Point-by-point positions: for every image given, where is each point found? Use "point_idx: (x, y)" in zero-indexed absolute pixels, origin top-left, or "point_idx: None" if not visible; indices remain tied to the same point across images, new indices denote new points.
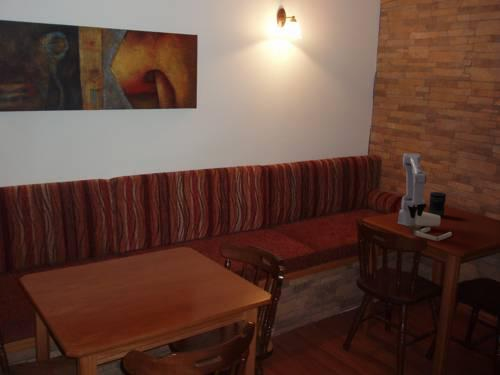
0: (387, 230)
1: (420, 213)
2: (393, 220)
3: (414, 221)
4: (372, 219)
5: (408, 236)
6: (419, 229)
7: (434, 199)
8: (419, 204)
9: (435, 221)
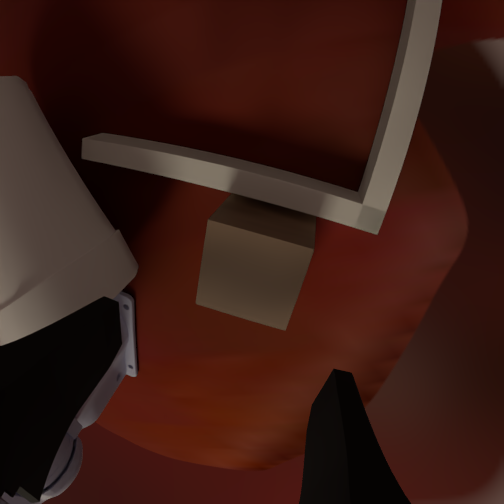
0: None
1: (91, 339)
2: None
3: None
4: (177, 453)
5: (443, 255)
6: (241, 206)
7: None
8: (10, 485)
9: (18, 112)
